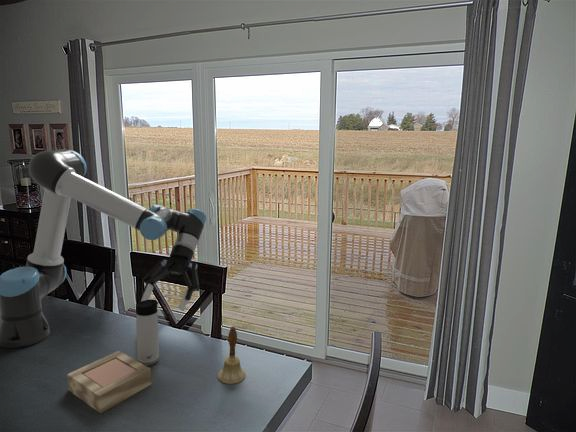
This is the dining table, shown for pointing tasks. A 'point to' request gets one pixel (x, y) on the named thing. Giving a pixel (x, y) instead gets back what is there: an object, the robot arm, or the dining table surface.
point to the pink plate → (109, 372)
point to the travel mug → (147, 332)
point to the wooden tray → (113, 392)
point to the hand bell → (231, 363)
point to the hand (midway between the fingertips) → (162, 306)
